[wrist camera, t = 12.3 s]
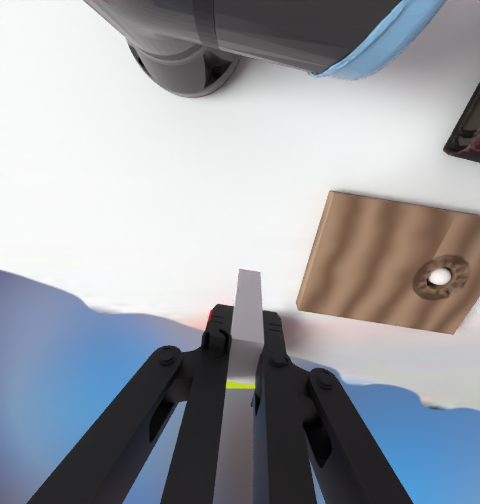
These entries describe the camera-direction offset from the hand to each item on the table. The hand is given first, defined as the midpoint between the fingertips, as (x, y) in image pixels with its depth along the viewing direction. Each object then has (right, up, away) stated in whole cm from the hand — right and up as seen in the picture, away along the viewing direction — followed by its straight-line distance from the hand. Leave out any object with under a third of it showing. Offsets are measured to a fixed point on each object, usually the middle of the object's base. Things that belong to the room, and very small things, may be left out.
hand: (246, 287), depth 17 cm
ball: (+34, -2, +24) cm, 42 cm away
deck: (+26, 0, +25) cm, 36 cm away
